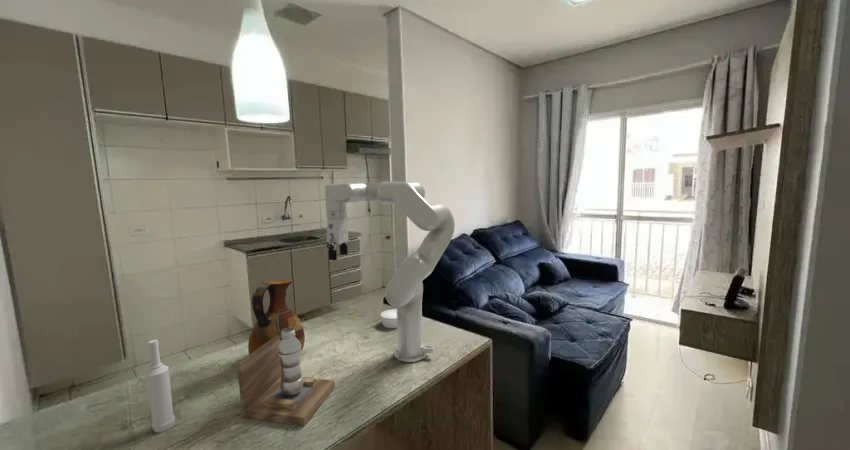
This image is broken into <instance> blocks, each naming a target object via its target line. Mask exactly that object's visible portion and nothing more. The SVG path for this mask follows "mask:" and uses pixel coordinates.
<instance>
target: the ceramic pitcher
mask: <svg viewBox="0 0 850 450" xmlns="http://www.w3.org/2000/svg"><path fill="white" fill-rule="evenodd" d="M292 283H293V280H291V279H288V278H287V279H285V278H284V279H276V280H275V279H273V280H264V281H262V283H261V284H260V285H259V286H257V288H256V289H255V291H254V293H253V294H252V298H251V299H252V300H251V305H252V310H253V314H254V315H255V316H254V317H255V319H256V323H255V324H254V326H253V328H252V329H251V332H250V335H249V339H248V344H247V348H248V349H247V351H248V355H250V354H251V353H252V352H254V351H255V350H257V349H258V348H260V347H261V346H262V345H264V344H265V343H267V342H268V341H269V340H271V339H272V338H274V337H275V336H276V335H280V341H281V340H282V339H283V338H282V337H281V335H282V334H281V331H282V330H283V329H286V328H294V329H295V337H296V338H297V339H298V340H299V341H300V343H301V352H302V350H303V349H304V347H305V342H306V341H305V340H306V338H305V337H306V335H305V330H304V327H303V324H302V321H301V319H300V318H299V317H298V316H297V315H296V313H294V311H293V310H291V309H290V308H288V304H287V301H286V296H287V289H288V287H289V286H290V285H291V284H292ZM266 292H268V293H269V294H268V295H269V305H268V309H267V311H266V312H265V310H264V296H265V293H266Z"/></svg>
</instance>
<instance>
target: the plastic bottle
mask: <svg viewBox="0 0 850 450" xmlns="http://www.w3.org/2000/svg"><path fill="white" fill-rule="evenodd" d="M281 334H282V335H281V337H282V338H283V339H282V340H281V342H280V344H279V346H278V354H279V358H280V363H281V382H280V389H281V392H282V394H283V395H285V396H293V395H296V394H298V393H299V392H301V390H302V388H303V384H304V381H303V377H304V376H303V374H302V370H301V369H302V367H301V352H302V351H301V343H300V341H299V340H298V339H297V338H296V337H295V329H294V328H286V329H283V330H282V331H281Z"/></svg>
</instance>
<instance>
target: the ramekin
mask: <svg viewBox="0 0 850 450" xmlns="http://www.w3.org/2000/svg"><path fill="white" fill-rule="evenodd" d="M380 318H381V324H382V326H383V327H384V328H387V329H397V308H396V309H395V308H394V309H393V308H392V309H386V310H384V311H382V312H381V313H380Z"/></svg>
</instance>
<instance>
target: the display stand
mask: <svg viewBox="0 0 850 450" xmlns="http://www.w3.org/2000/svg"><path fill="white" fill-rule="evenodd" d="M280 342H281V341H280V335H276V336H275V337H274V338H272V339H271V340H269V341H268V342H267V343H265V344H264V345H262V346H261V347H260V348H258V349H257V350H255V351H254V352H252V353H251V354H250V355H249V354H248V355H247V356H245V357H244V358H243V359H241V360H240V361H238V362H237V363H236V367H237V368H236V369H237V377H238V378H237V379H238V386H239V387H238V388H239V398H240V408H241V409H240V415H241V418H243V419H251V420H258V421H265V422H272V423H273V422H274V423H281V424H286V425H296V426H302V427H306V426H307V424H308V423H309V421H311V419H312V418H313V416H315V414H316V412H317V411H318V410H319V408H320V407H322V405H323V404H324V402H325V401H326V400H327V398H328V397H329V396H330V395H331V394H332V392H333V391H334V389H335V388H336V383H335V380H334V379H333V380H332V379H324V378H313V377H305V376H302V377H303V381H304V384H303V388H302V390H301V392H299V393H298V394H296V395H293V396H285V395H283V394H282V392H281V389H280V382H281V363H280V358H279V354H278V346H279V344H280Z"/></svg>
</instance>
